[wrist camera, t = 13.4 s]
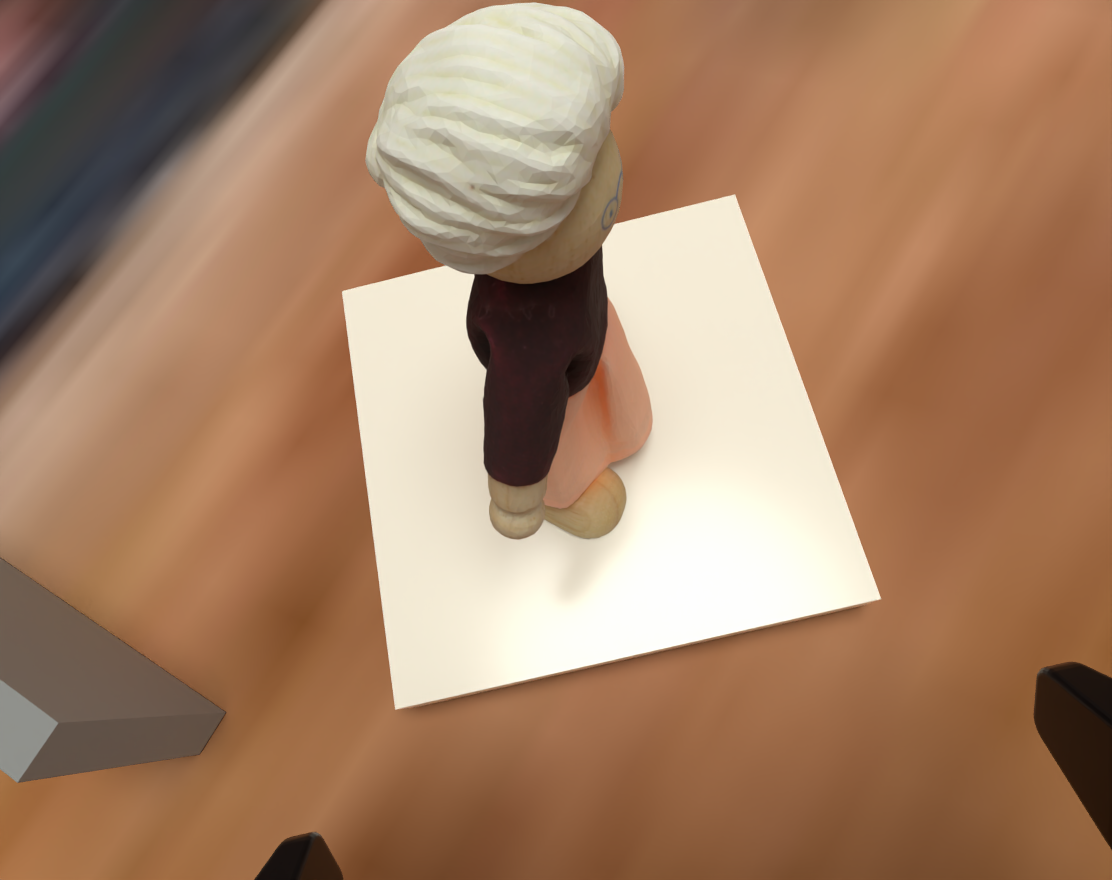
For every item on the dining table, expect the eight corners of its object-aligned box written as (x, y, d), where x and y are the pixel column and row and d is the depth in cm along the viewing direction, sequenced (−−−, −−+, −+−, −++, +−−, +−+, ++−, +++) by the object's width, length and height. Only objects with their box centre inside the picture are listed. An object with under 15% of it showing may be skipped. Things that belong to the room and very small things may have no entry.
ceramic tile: (862, 605, 19) (880, 599, 17) (413, 707, 19) (395, 709, 18) (728, 225, 23) (734, 194, 21) (360, 315, 23) (342, 291, 22)
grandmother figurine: (669, 571, 18) (735, 341, 6) (517, 584, 18) (292, 392, 6) (635, 299, 21) (634, -239, 9) (502, 315, 21) (321, -183, 9)
